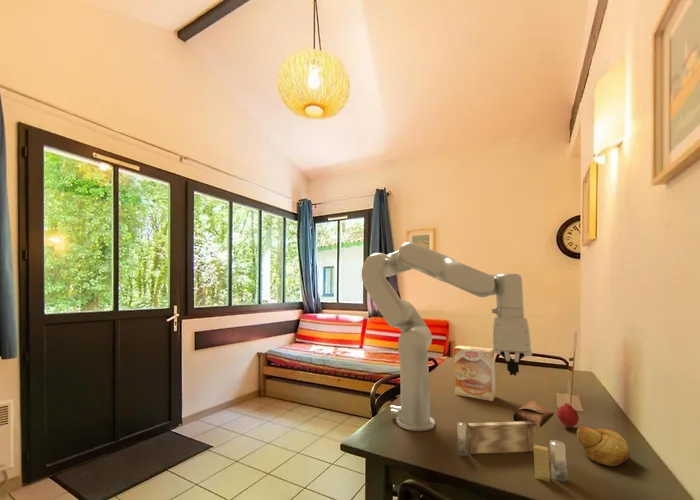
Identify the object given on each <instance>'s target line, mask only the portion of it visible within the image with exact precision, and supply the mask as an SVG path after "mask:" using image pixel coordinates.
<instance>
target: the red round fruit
mask: <svg viewBox="0 0 700 500" xmlns="http://www.w3.org/2000/svg"><path fill="white" fill-rule="evenodd" d="M556 415H557V419H558V420H559V421H560V423H562V424H563V425H564V426H565V427H566V428H567V429H572V428H574V427H575V426H576V425H577V424H578V423H579V420H580V419H579V413H578V411H577V410H576V409H575V408H574V407H573V406H571V404H570V403H569V402H567V401H566V402H564V404H563V405H561V406H559V408H558V410H557V414H556Z"/></svg>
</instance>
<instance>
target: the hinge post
mask: <svg viewBox="0 0 700 500" xmlns="http://www.w3.org/2000/svg"><path fill="white" fill-rule="evenodd" d="M456 425H457V426H456V427H457V428H456V432H457V433H456V434H457V455H458V456H460V457H464V458H465V457H467V456H468V431H467V423H466V422H463V421H458V422H456Z"/></svg>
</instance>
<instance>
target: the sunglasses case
mask: <svg viewBox="0 0 700 500" xmlns="http://www.w3.org/2000/svg"><path fill="white" fill-rule="evenodd" d="M551 414H552V415H553V414H554V412H552V411H550V410H549V409H547V408H546V407H544V406H542V405H540V404H538V403H537V402H536V401H534V400H533V399H530V400H529V401H528V402H526V403H525V404H523V405H522V406H521V407H519V408H518V409H517V410H516V411H515V412H514V414H513V415H512V418H513V420H514V421H513V422H519V421H529V422H531V423H532V424H533V427H535V426H537V427H536V428H541V427H542V424H543V423H544V422H545V421H546V420H547V419H548V418H550V416H551ZM545 419H546V420H545ZM540 426H541V427H540Z"/></svg>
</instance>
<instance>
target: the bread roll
mask: <svg viewBox="0 0 700 500" xmlns="http://www.w3.org/2000/svg"><path fill="white" fill-rule="evenodd" d="M576 438H577V440H578V442H579V444H580V445H581V446H582V447H583V448H582V449H583V450H584V451H583V452H584V453H585V455H586V456H587V458H589V459H590V460H592V461H594V462H595V463H598V464H601V465H605V466H608V467H616V466H617V467H618V466H619V465H621V464H623V463H626V461H628V460H629V457H630V453H631V452H630V449H631V448H630V446H629V444H628V443H627V441H626V440H625V439H624V437H623V436H621V434H619V433H618V432H616V431H613V430H611V429H607V428H595V429H592V428H589V427H587V426H580V427H579V428H577V430H576Z"/></svg>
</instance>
